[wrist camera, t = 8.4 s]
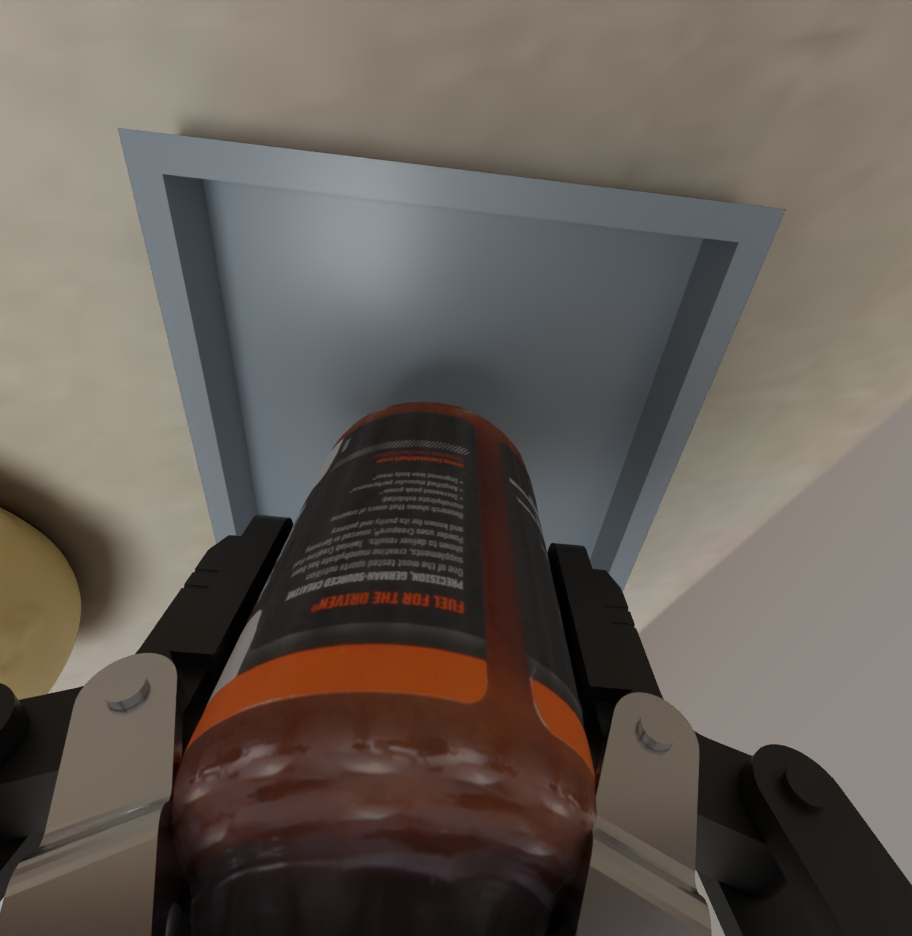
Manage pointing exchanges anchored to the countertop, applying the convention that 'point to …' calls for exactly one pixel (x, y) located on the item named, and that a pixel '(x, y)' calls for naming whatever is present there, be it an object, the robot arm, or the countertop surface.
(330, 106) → the countertop surface
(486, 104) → the countertop surface
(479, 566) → the supplement bottle
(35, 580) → the sculpture
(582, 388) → the tray
